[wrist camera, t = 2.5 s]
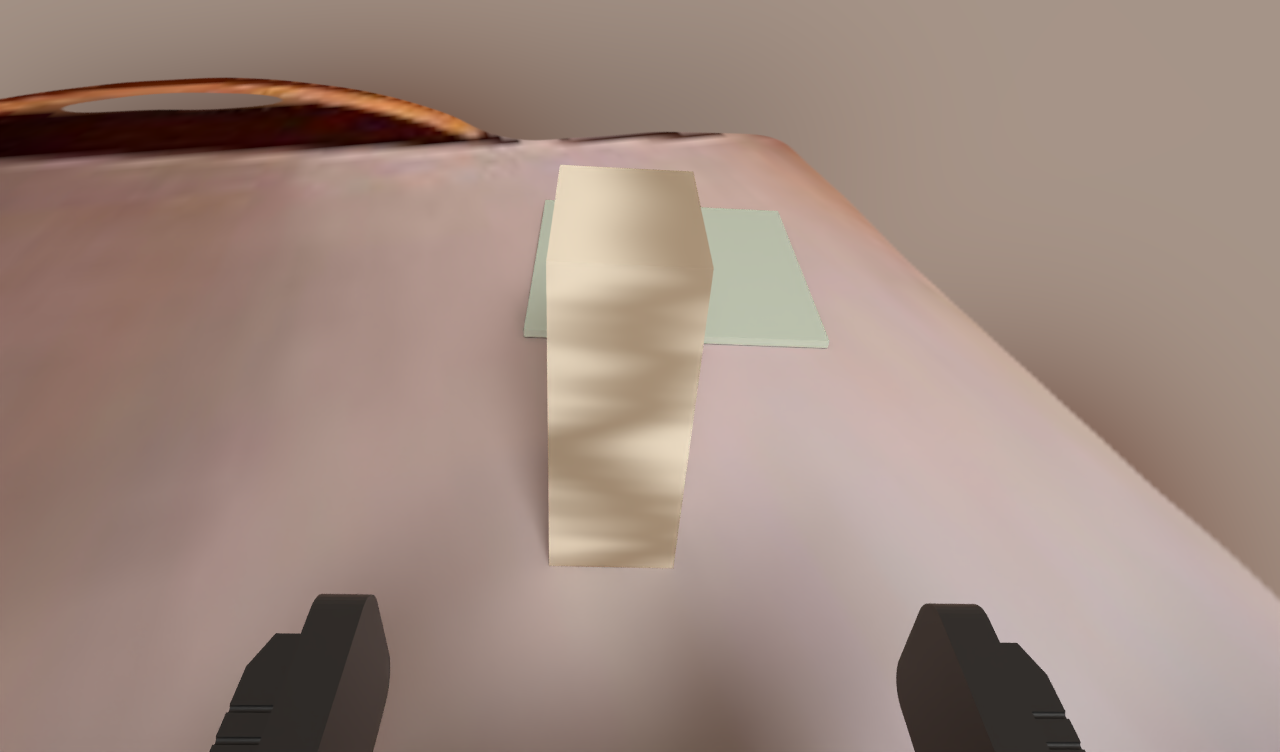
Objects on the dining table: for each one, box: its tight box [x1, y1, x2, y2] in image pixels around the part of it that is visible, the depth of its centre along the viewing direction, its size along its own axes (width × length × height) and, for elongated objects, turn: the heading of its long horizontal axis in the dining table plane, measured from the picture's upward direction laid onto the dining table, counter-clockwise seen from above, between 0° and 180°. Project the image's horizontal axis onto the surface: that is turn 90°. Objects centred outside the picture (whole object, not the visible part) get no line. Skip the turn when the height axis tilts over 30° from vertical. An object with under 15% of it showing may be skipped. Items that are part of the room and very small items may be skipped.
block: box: [546, 165, 714, 568], centre depth 24 cm, size 4×6×11 cm, turn 1°
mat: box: [524, 200, 829, 348], centre depth 41 cm, size 14×14×1 cm
